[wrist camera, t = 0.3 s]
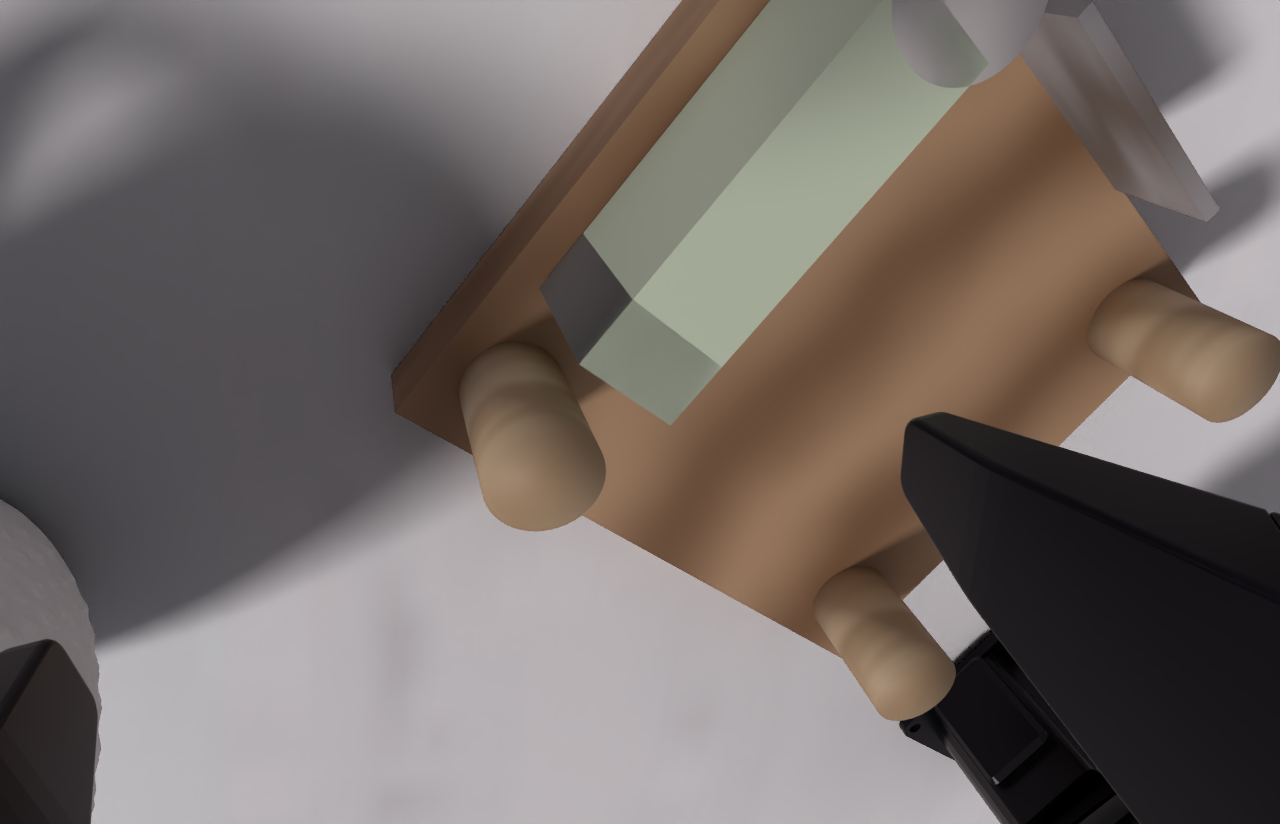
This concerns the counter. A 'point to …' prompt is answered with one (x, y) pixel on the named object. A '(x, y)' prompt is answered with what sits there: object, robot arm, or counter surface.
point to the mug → (43, 600)
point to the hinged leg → (765, 180)
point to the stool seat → (848, 341)
